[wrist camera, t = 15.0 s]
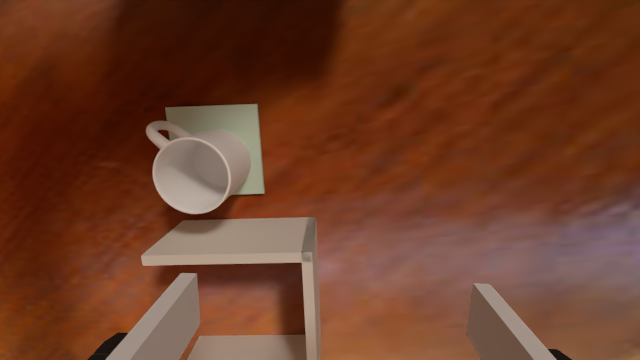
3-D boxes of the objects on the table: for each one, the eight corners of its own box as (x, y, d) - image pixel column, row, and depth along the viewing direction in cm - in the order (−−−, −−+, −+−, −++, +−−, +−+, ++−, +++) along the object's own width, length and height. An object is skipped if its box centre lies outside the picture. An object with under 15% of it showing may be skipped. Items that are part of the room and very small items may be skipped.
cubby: (183, 220, 48) (140, 255, 37) (316, 217, 47) (312, 252, 36) (200, 342, 52) (167, 404, 42) (321, 341, 52) (319, 404, 41)
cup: (226, 201, 46) (198, 229, 36) (156, 142, 44) (107, 155, 35) (265, 157, 44) (246, 174, 35) (193, 95, 43) (153, 94, 33)
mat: (167, 107, 44) (165, 107, 43) (257, 103, 43) (256, 103, 43) (179, 194, 47) (177, 196, 46) (264, 192, 46) (263, 193, 46)
